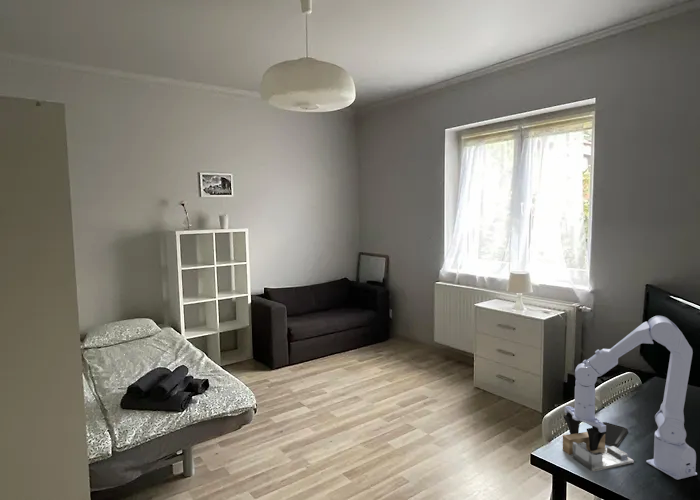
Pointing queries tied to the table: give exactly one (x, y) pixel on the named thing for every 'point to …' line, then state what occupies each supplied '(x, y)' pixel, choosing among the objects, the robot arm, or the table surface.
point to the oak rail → (579, 441)
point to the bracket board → (600, 457)
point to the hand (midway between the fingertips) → (583, 443)
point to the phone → (614, 434)
